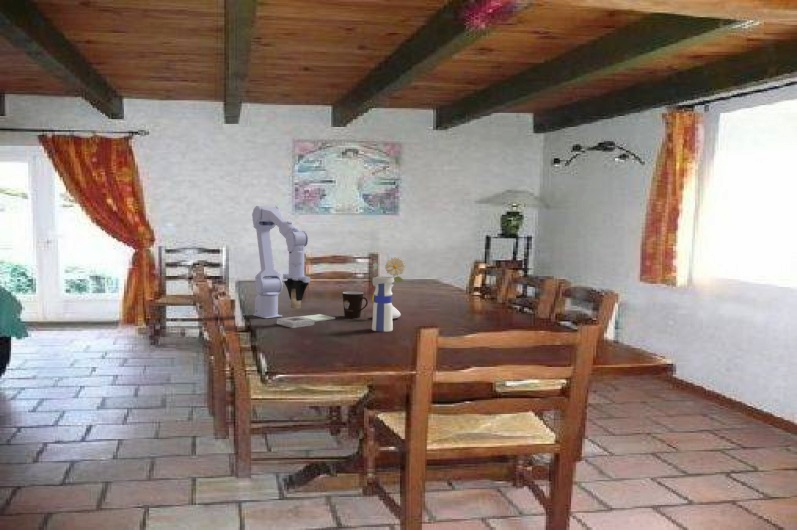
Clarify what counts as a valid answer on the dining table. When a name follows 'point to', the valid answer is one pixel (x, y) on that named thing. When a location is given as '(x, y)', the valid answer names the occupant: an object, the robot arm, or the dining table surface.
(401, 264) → the flower in vase
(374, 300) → the water bottle
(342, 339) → the dining table surface
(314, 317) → the mat
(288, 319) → the square metal frame
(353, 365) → the dining table surface
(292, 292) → the tan two-tone cylinder
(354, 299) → the coffee mug
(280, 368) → the dining table surface
